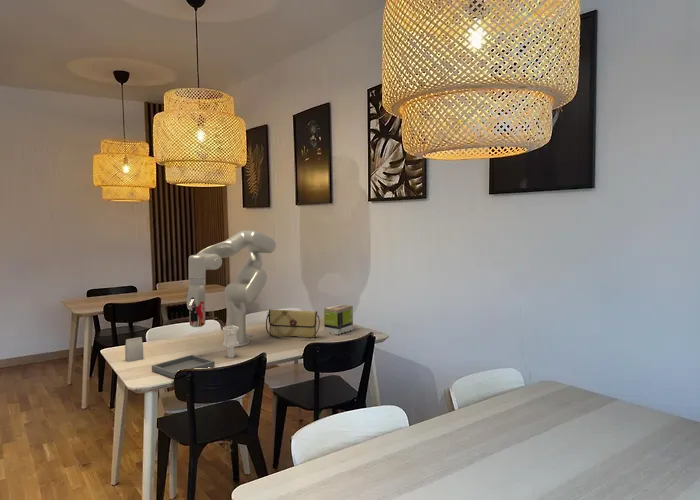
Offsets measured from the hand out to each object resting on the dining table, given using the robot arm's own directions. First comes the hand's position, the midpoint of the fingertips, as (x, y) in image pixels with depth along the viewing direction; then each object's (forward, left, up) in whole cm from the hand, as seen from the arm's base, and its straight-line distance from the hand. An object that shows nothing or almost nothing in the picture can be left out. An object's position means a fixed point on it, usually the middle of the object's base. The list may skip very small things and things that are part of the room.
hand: (197, 319), depth 217 cm
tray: (+14, +10, -18) cm, 25 cm away
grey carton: (+20, -19, -18) cm, 33 cm away
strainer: (-10, +12, -18) cm, 24 cm away
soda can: (0, 0, -3) cm, 3 cm away
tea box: (-79, +23, -18) cm, 84 cm away
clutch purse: (-52, +12, -18) cm, 56 cm away
